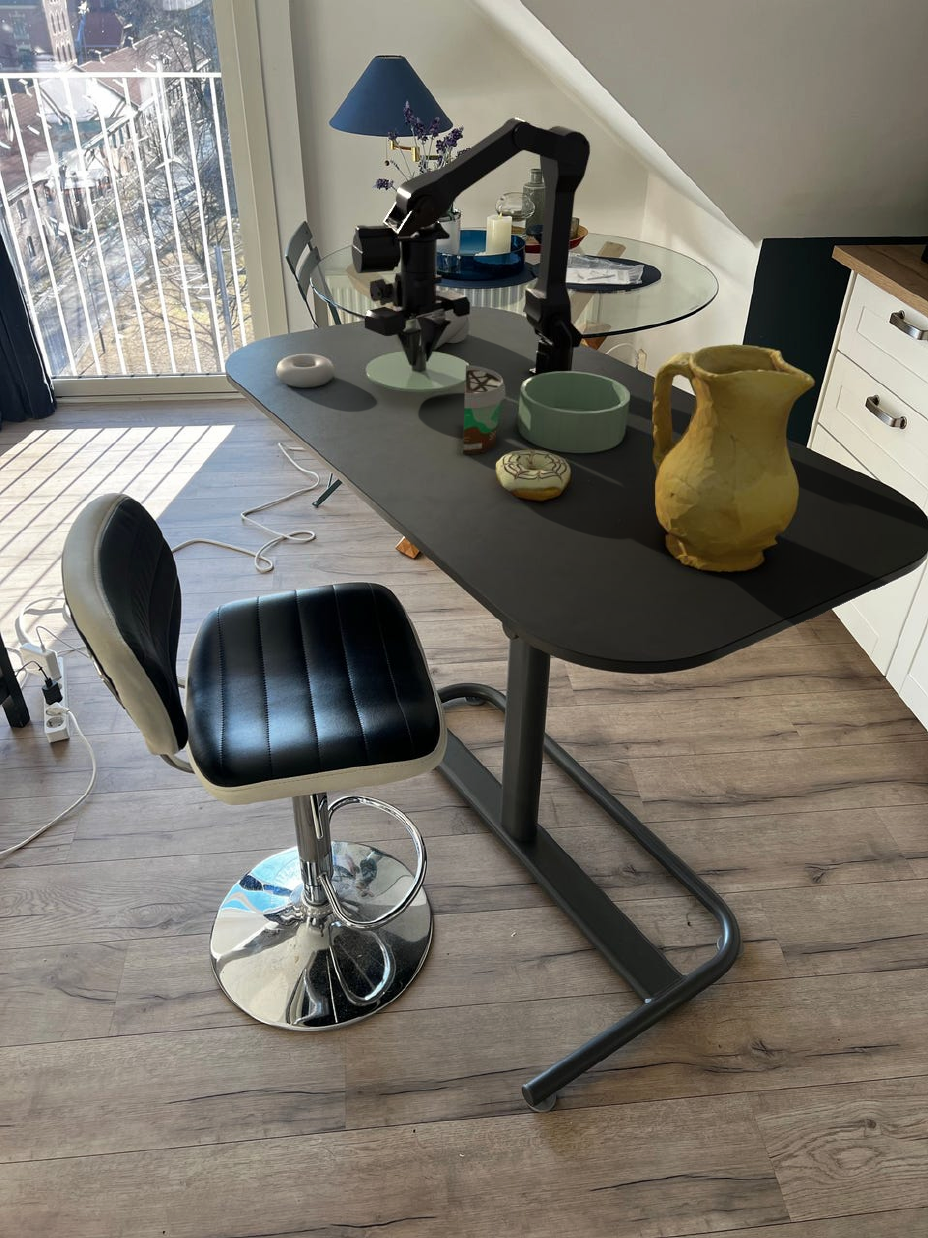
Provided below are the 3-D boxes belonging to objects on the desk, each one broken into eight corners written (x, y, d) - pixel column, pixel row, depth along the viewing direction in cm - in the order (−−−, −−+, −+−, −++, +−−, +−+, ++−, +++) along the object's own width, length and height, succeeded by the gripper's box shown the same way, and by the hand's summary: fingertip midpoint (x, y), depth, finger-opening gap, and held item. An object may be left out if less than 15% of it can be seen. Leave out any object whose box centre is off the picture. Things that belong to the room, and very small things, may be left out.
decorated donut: (499, 504, 126) (500, 479, 124) (492, 468, 135) (493, 445, 133) (574, 503, 127) (576, 479, 125) (562, 468, 135) (564, 444, 133)
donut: (328, 393, 156) (340, 370, 164) (326, 373, 154) (339, 352, 162) (270, 389, 157) (285, 367, 165) (268, 369, 155) (283, 348, 163)
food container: (503, 459, 137) (507, 396, 131) (462, 458, 137) (464, 394, 131) (501, 425, 147) (505, 365, 141) (463, 424, 147) (465, 363, 141)
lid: (423, 349, 167) (423, 318, 164) (493, 377, 157) (494, 345, 153) (344, 372, 157) (342, 340, 153) (413, 404, 146) (413, 370, 143)
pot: (565, 400, 157) (569, 363, 153) (645, 432, 147) (652, 394, 143) (496, 426, 147) (498, 388, 143) (577, 463, 137) (581, 422, 133)
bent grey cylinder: (497, 339, 177) (438, 311, 189) (490, 286, 169) (430, 261, 182) (422, 376, 170) (367, 344, 183) (412, 323, 163) (355, 293, 176)
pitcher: (699, 594, 109) (741, 388, 95) (616, 527, 123) (642, 339, 110) (811, 570, 115) (866, 373, 101) (720, 509, 129) (757, 329, 116)
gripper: (428, 248, 156) (427, 338, 165) (341, 267, 146) (345, 362, 155) (473, 262, 150) (470, 355, 159) (386, 283, 139) (388, 381, 148)
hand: (418, 363), depth 156 cm, fingers closed on lid, 3 cm apart
